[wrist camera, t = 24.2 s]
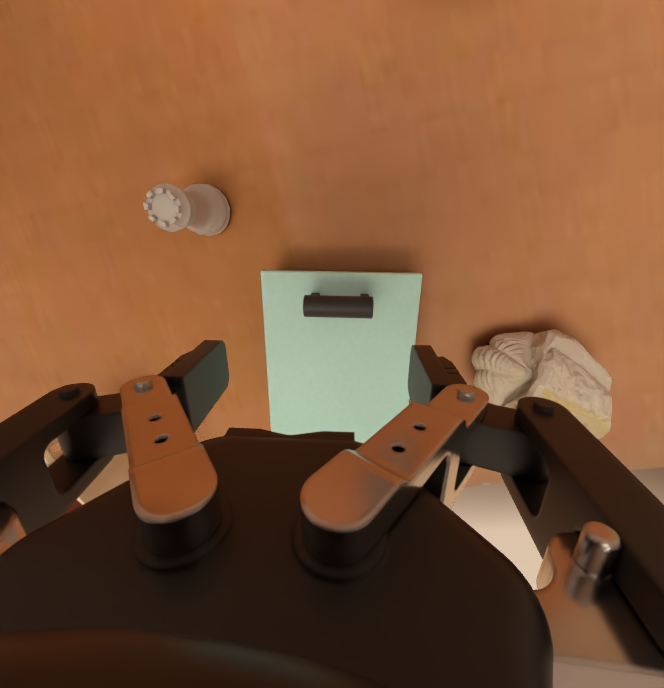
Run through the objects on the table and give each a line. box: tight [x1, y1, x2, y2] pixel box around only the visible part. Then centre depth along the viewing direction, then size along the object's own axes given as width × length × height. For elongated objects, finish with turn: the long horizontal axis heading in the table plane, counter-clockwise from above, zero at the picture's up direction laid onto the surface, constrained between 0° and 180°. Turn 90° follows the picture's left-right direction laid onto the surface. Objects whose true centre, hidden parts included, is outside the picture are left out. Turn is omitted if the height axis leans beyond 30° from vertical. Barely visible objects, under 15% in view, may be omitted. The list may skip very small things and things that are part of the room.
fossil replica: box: [472, 329, 613, 439], centre depth 30 cm, size 12×8×10 cm
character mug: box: [44, 438, 129, 516], centre depth 33 cm, size 11×7×13 cm, turn 17°
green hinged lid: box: [261, 270, 422, 443], centre depth 28 cm, size 16×13×5 cm
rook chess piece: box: [143, 183, 230, 236], centre depth 27 cm, size 4×4×8 cm
